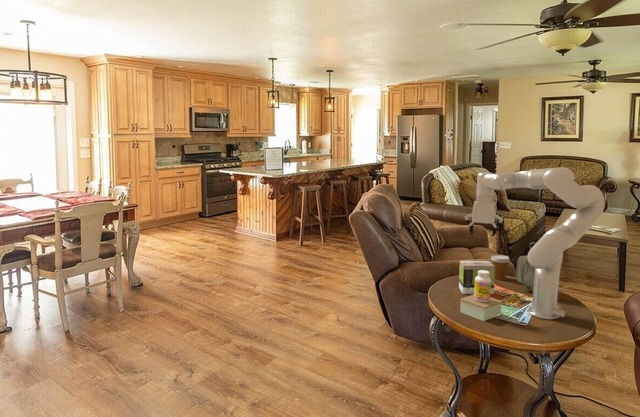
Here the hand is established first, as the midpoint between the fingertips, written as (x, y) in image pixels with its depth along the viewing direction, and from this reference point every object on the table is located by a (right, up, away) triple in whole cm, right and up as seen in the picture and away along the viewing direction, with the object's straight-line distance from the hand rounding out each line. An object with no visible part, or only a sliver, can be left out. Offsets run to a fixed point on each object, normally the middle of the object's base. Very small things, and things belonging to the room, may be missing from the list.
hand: (482, 234), depth 215 cm
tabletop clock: (+28, -29, +10) cm, 42 cm away
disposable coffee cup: (+20, -26, +32) cm, 46 cm away
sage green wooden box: (-7, -33, -17) cm, 38 cm away
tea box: (0, -29, +11) cm, 31 cm away
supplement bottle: (-7, -28, -18) cm, 33 cm away
